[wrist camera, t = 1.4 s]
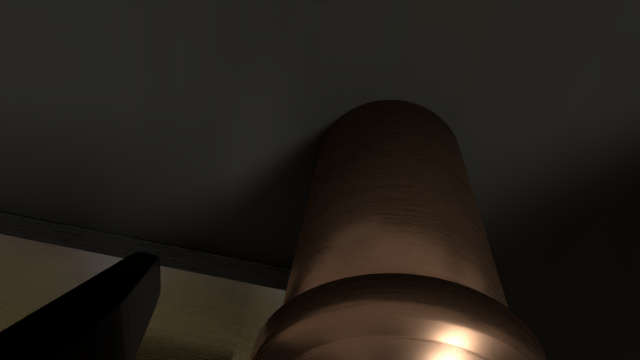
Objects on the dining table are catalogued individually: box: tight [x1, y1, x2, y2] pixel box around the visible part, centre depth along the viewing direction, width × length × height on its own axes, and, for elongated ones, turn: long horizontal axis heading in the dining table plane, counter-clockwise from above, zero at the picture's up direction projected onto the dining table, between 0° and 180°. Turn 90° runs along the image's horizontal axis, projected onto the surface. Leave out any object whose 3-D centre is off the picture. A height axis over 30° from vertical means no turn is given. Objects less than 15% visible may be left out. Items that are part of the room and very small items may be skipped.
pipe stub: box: [250, 100, 547, 360], centre depth 10 cm, size 5×5×8 cm
